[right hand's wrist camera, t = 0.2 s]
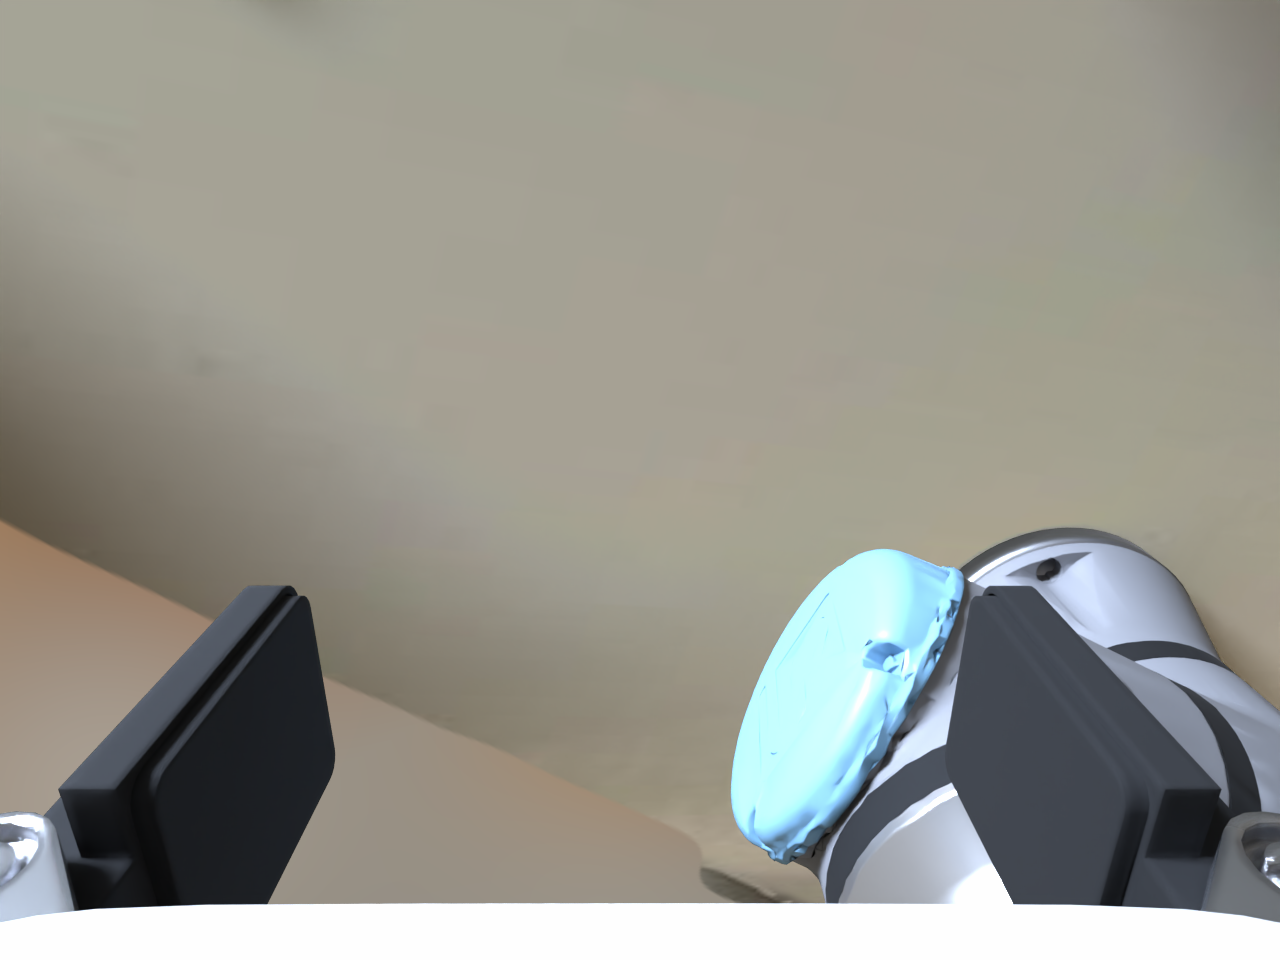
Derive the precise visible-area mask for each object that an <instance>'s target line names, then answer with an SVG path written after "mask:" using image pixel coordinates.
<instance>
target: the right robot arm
mask: <svg viewBox="0 0 1280 960" xmlns="http://www.w3.org/2000/svg"><path fill="white" fill-rule="evenodd" d="M334 763H335V748H334V742H333V736H332V730H331V724H330V718H329V712H328V707H327V701H326V695H325V689H324V683H323V677H322V671H321V665H320V660H319V654H318V648H317V642H316V636H315V630H314V624H313V618H312V613H311V607H310V603H309V600H308V599H307V597H305V596H298V595H297V592H296V591H295V589H294V588H293V587H292V586H248V587H246V588H245V589H244V590H243V591H242V592H241V593H240V594H239V595H238V596H237V597H236V598H235V599H234V600H233V601H232V603H231V604H230V605H229V606H228V607H227V608H226V609H225V610H224V611H223V612H222V613H221V614H220V615H219V617H218V618H217V619H216V620H215V621H214V622H213V623H212V624H211V625H210V626H209V627H208V628H207V629H206V631H205V632H204V633H203V634H202V635H201V636H200V637H199V638H198V639H197V640H196V641H195V642H194V643H193V645H192V646H191V647H190V648H189V649H188V650H187V651H186V652H185V653H184V654H183V655H182V656H181V657H180V659H179V660H178V661H177V662H176V663H175V664H174V665H173V666H172V667H171V668H170V669H169V670H168V671H167V673H166V674H165V675H164V676H163V677H162V678H161V679H160V680H159V681H158V682H157V683H156V684H155V686H154V687H153V688H152V689H151V690H150V691H149V692H148V693H147V694H146V695H145V696H144V697H143V698H142V700H141V701H140V702H139V703H138V704H137V705H136V706H135V707H134V708H133V709H132V710H131V711H130V712H129V714H128V715H127V716H126V717H125V718H124V719H123V720H122V721H121V722H120V723H119V724H118V725H117V726H116V728H115V729H114V730H113V731H112V732H111V733H110V734H109V735H108V736H107V737H106V738H105V739H104V740H103V742H102V743H101V744H100V745H99V746H98V747H97V748H96V749H95V750H94V751H93V752H92V753H91V754H90V756H89V757H88V758H87V759H86V760H85V761H84V762H83V763H82V764H81V765H80V766H79V767H78V768H77V770H76V771H75V772H74V773H73V774H72V775H71V776H70V777H69V778H68V779H67V780H66V781H65V782H64V784H63V785H62V786H61V787H60V788H59V789H58V790H59V793H60V796H61V797H60V798H59V799H58V800H57V802H56V803H55V804H54V805H53V806H52V807H51V808H50V809H49V810H48V811H47V813H46V814H45V815H44V816H42V815H40V814H37V813H32V812H17V811H16V812H8V813H2V814H0V960H1280V814H1278V813H1272V812H1265V811H1262V812H1248V813H1243V814H1240V815H1238V816H1236V815H1235V814H1234V813H1233V811H1232V810H1231V809H1230V808H1229V807H1228V806H1227V805H1226V804H1225V803H1224V802H1223V800H1222V799H1221V798H1220V797H1219V796H1220V793H1221V790H1222V789H1221V788H1220V787H1219V786H1218V785H1217V784H1216V782H1215V781H1214V780H1213V779H1212V778H1211V777H1210V776H1209V775H1208V774H1207V773H1206V772H1205V771H1204V770H1203V768H1202V767H1201V766H1200V765H1199V764H1198V763H1197V762H1196V761H1195V760H1194V759H1193V758H1192V757H1191V756H1190V754H1189V753H1188V752H1187V751H1186V750H1185V749H1184V748H1183V747H1182V746H1181V745H1180V744H1179V743H1178V742H1177V740H1176V739H1175V738H1174V737H1173V736H1172V735H1171V734H1170V733H1169V732H1168V731H1167V730H1166V729H1165V728H1164V726H1163V725H1162V724H1161V723H1160V722H1159V721H1158V720H1157V719H1156V718H1155V717H1154V716H1153V715H1152V714H1151V712H1150V711H1149V710H1148V709H1147V708H1146V707H1145V706H1144V705H1143V704H1142V703H1141V702H1140V701H1139V700H1138V698H1137V697H1136V696H1135V695H1134V694H1133V693H1132V692H1131V691H1130V690H1129V689H1128V688H1127V687H1126V686H1125V684H1124V683H1123V682H1122V681H1121V680H1120V679H1119V678H1118V677H1117V676H1116V675H1115V674H1114V673H1113V671H1112V670H1111V669H1110V668H1109V667H1108V666H1107V665H1106V664H1105V663H1104V662H1103V661H1102V660H1101V659H1100V657H1099V656H1098V655H1097V654H1096V653H1095V652H1094V651H1093V650H1092V649H1091V648H1090V647H1089V646H1088V645H1087V643H1086V642H1085V641H1084V640H1083V639H1082V638H1081V637H1080V636H1079V635H1078V634H1077V633H1076V632H1075V631H1074V629H1073V628H1072V627H1071V626H1070V625H1069V624H1068V623H1067V622H1066V621H1065V620H1064V619H1063V618H1062V617H1061V615H1060V614H1059V613H1058V612H1057V611H1056V610H1055V609H1054V608H1053V607H1052V606H1051V605H1050V604H1049V603H1048V601H1047V600H1046V599H1045V598H1044V597H1043V596H1042V595H1041V594H1040V593H1039V592H1038V591H1037V590H1036V589H1035V588H1034V587H1032V586H988V587H987V588H986V589H985V591H984V592H983V595H982V596H975V597H973V599H972V600H971V603H970V607H969V613H968V618H967V624H966V630H965V636H964V642H963V648H962V654H961V660H960V665H959V671H958V677H957V683H956V689H955V695H954V701H953V706H952V712H951V718H950V724H949V730H948V736H947V742H946V748H945V763H946V769H947V773H948V776H949V778H950V780H951V782H952V784H953V786H954V788H955V790H956V792H957V794H958V796H959V798H960V800H961V802H962V804H963V806H964V808H965V810H966V812H967V814H968V816H969V818H970V820H971V822H972V824H973V826H974V828H975V830H976V832H977V834H978V836H979V838H980V840H981V842H982V844H983V846H984V848H985V850H986V852H987V854H988V856H989V858H990V860H991V862H992V864H993V866H994V868H995V870H996V872H997V874H998V876H999V878H1000V880H1001V882H1002V884H1003V886H1004V888H1005V890H1006V892H1007V894H1008V896H1009V898H1010V900H1011V902H1012V904H1013V905H1008V904H272V905H267V904H268V902H269V900H270V898H271V896H272V894H273V892H274V890H275V888H276V886H277V884H278V882H279V880H280V878H281V876H282V874H283V872H284V870H285V868H286V866H287V864H288V862H289V860H290V858H291V856H292V854H293V852H294V850H295V848H296V846H297V844H298V842H299V840H300V838H301V836H302V834H303V832H304V830H305V828H306V826H307V824H308V822H309V820H310V818H311V816H312V814H313V812H314V810H315V808H316V806H317V804H318V802H319V800H320V798H321V796H322V794H323V792H324V790H325V788H326V786H327V784H328V782H329V780H330V778H331V776H332V773H333V769H334Z"/></svg>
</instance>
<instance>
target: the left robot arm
mask: <svg viewBox="0 0 1280 960" xmlns="http://www.w3.org/2000/svg"><path fill="white" fill-rule="evenodd" d="M988 586H1032V587H1034V588H1035V589H1036V590H1037V591H1038V592H1039V593H1040V594H1041V595H1042V596H1043V597H1044V598H1045V599H1046V600H1047V601H1048V603H1049V604H1050V605H1051V606H1052V607H1053V608H1054V609H1055V610H1056V611H1057V612H1058V613H1059V614H1060V615H1061V617H1062V618H1063V619H1064V620H1065V621H1066V622H1067V623H1068V624H1069V625H1070V626H1071V627H1072V628H1073V629H1074V631H1075V632H1076V633H1077V634H1078V635H1079V636H1080V637H1081V638H1082V639H1083V640H1084V641H1085V642H1086V643H1087V645H1088V646H1089V647H1090V648H1091V649H1092V650H1093V651H1094V652H1095V653H1096V654H1097V655H1098V656H1099V657H1100V659H1101V660H1102V661H1103V662H1104V663H1105V664H1106V665H1107V666H1108V667H1109V668H1110V669H1111V670H1112V671H1113V673H1114V674H1115V675H1116V676H1117V677H1118V678H1119V679H1120V680H1121V681H1122V682H1123V683H1124V684H1125V686H1126V687H1127V688H1128V689H1129V690H1130V691H1131V692H1132V693H1133V694H1134V695H1135V696H1136V697H1137V698H1138V700H1139V701H1140V702H1141V703H1142V704H1143V705H1144V706H1145V707H1146V708H1147V709H1148V710H1149V711H1150V712H1151V714H1152V715H1153V716H1154V717H1155V718H1156V719H1157V720H1158V721H1159V722H1160V723H1161V724H1162V725H1163V726H1164V728H1165V729H1166V730H1167V731H1168V732H1169V733H1170V734H1171V735H1172V736H1173V737H1174V738H1175V739H1176V740H1177V742H1178V743H1179V744H1180V745H1181V746H1182V747H1183V748H1184V749H1185V750H1186V751H1187V752H1188V753H1189V754H1190V756H1191V757H1192V758H1193V759H1194V760H1195V761H1196V762H1197V763H1198V764H1199V765H1200V766H1201V767H1202V768H1203V770H1204V771H1205V772H1206V773H1207V774H1208V775H1209V776H1210V777H1211V778H1212V779H1213V780H1214V781H1215V782H1216V784H1217V785H1218V786H1219V787H1220V788H1221V789H1222V790H1221V793H1220V796H1219V797H1220V798H1221V799H1222V800H1223V802H1224V803H1225V804H1226V805H1227V806H1228V807H1229V808H1230V809H1231V810H1232V811H1233V813H1234V814H1235V815H1236V816H1238V815H1240V814H1243V813H1248V812H1262V811H1265V812H1272V813H1278V814H1280V711H1279V710H1278V709H1276V708H1275V707H1274V706H1273V705H1272V704H1270V703H1269V702H1268V701H1267V700H1266V699H1265V698H1263V697H1262V696H1261V695H1260V694H1259V693H1258V692H1256V691H1255V690H1254V689H1253V688H1252V687H1251V686H1249V685H1248V684H1247V683H1246V682H1245V681H1243V680H1242V679H1241V678H1240V677H1238V676H1237V675H1236V674H1235V673H1234V672H1233V671H1232V670H1230V669H1229V668H1228V667H1227V666H1226V665H1225V664H1223V663H1222V662H1221V660H1220V658H1219V656H1218V654H1217V652H1216V650H1215V648H1214V646H1213V644H1212V642H1211V640H1210V638H1209V636H1208V633H1207V631H1206V629H1205V627H1204V625H1203V623H1202V621H1201V619H1200V617H1199V615H1198V613H1197V611H1196V609H1195V607H1194V605H1193V603H1192V602H1191V599H1190V597H1189V595H1188V593H1187V592H1186V590H1185V588H1184V587H1183V585H1182V584H1181V583H1180V581H1179V580H1178V579H1177V578H1176V576H1175V575H1174V574H1173V573H1171V572H1170V571H1169V570H1168V569H1167V568H1166V567H1165V566H1163V565H1162V564H1161V563H1160V562H1158V561H1157V560H1156V559H1154V558H1153V557H1152V556H1150V555H1149V554H1148V553H1147V552H1145V551H1144V550H1143V549H1141V548H1140V547H1138V546H1137V545H1135V544H1133V543H1131V542H1130V541H1128V540H1125V539H1123V538H1121V537H1119V536H1116V535H1113V534H1110V533H1106V532H1102V531H1097V530H1092V529H1083V528H1057V529H1049V530H1042V531H1037V532H1033V533H1028V534H1025V535H1022V536H1019V537H1016V538H1012V539H1010V540H1008V541H1005V542H1003V543H1001V544H998V545H996V546H995V547H993V548H991V549H989V550H987V551H985V552H984V553H982V554H980V555H979V556H977V557H976V558H974V559H973V560H971V561H970V562H969V563H967V564H966V565H965V566H963V567H962V568H961V569H960V570H957V569H955V568H954V567H952V568H950V566H949V567H945V566H943V567H938V566H936V565H933V564H931V563H929V562H926V561H924V560H921V559H919V558H916V557H914V556H911V555H909V554H906V553H904V552H900V551H897V550H889V549H878V550H872V551H868V552H864V553H861V554H859V555H857V556H855V557H853V558H851V559H849V560H848V561H847V562H846V563H845V564H843V565H842V566H839V567H837V568H836V569H835V570H833V571H832V572H831V573H830V574H829V575H828V576H827V577H826V578H824V579H823V580H822V581H821V582H820V583H819V585H818V586H817V587H816V588H815V589H814V590H813V591H812V592H811V594H810V595H809V596H808V597H807V599H806V600H805V601H804V602H803V604H802V605H801V606H800V608H799V609H798V610H797V612H796V613H795V615H794V616H793V618H792V619H791V621H790V622H789V624H788V625H787V627H786V629H785V630H784V632H783V634H782V635H781V637H780V639H779V640H778V642H777V644H776V646H775V648H774V649H773V651H772V653H771V655H770V657H769V659H768V661H767V663H766V665H765V667H764V669H763V672H762V674H761V676H760V678H759V681H758V683H757V685H756V688H755V690H754V693H753V696H752V698H751V701H750V703H749V706H748V709H747V712H746V714H745V717H744V720H743V724H742V727H741V730H740V734H739V738H738V742H737V747H736V752H735V757H734V763H733V772H732V783H731V800H732V808H733V813H734V817H735V820H736V822H737V825H738V827H739V829H740V831H741V832H742V833H743V835H744V836H745V837H746V838H747V839H748V840H749V841H750V842H751V843H752V844H754V845H756V846H758V847H760V848H762V849H764V850H765V851H767V852H768V855H769V857H770V858H771V859H773V860H774V861H777V862H779V863H781V864H786V865H787V864H788V863H790V862H792V861H794V862H796V863H798V864H800V865H802V866H804V867H807V868H808V869H809V870H811V871H812V872H813V873H814V875H815V876H816V877H817V878H818V879H819V882H820V884H821V887H822V890H823V894H824V898H825V902H826V904H1008V905H1013V904H1012V902H1011V900H1010V898H1009V896H1008V894H1007V892H1006V890H1005V888H1004V886H1003V884H1002V882H1001V880H1000V878H999V876H998V874H997V872H996V870H995V868H994V866H993V864H992V862H991V860H990V858H989V856H988V854H987V852H986V850H985V848H984V846H983V844H982V842H981V840H980V838H979V836H978V834H977V832H976V830H975V828H974V826H973V824H972V822H971V820H970V818H969V816H968V814H967V812H966V810H965V808H964V806H963V804H962V802H961V800H960V798H959V796H958V794H957V792H956V790H955V788H954V786H953V784H952V782H951V780H950V778H949V776H948V773H947V769H946V763H945V748H946V742H947V736H948V730H949V724H950V718H951V712H952V706H953V701H954V695H955V689H956V683H957V677H958V671H959V665H960V660H961V654H962V648H963V642H964V636H965V630H966V624H967V618H968V613H969V607H970V603H971V600H972V599H973V597H975V596H982V595H983V592H984V591H985V589H986V588H987V587H988Z"/></svg>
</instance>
